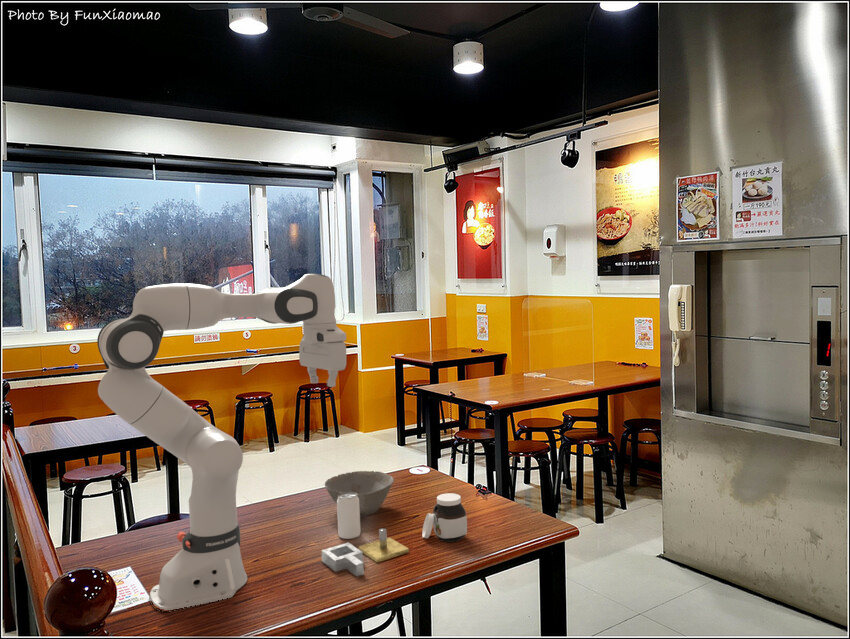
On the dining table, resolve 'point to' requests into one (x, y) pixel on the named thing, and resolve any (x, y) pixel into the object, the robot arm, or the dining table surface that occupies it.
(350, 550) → the grey square frame handle
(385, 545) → the post
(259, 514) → the dining table surface
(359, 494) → the ceramic bowl
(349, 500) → the can
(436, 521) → the spread jar
